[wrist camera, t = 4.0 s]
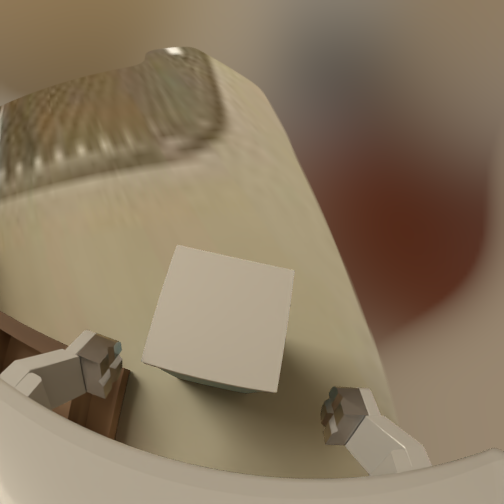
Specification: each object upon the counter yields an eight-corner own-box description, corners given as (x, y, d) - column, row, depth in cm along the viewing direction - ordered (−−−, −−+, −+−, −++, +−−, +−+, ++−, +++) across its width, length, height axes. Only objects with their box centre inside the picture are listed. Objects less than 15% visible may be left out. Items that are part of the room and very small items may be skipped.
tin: (247, 394, 19) (276, 392, 10) (175, 378, 18) (141, 361, 10) (260, 327, 21) (294, 270, 12) (192, 312, 21) (176, 244, 12)
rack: (104, 505, 12) (82, 524, 8) (-21, 426, 12) (-52, 423, 8) (130, 370, 18) (109, 362, 14) (3, 313, 18) (-26, 294, 14)
